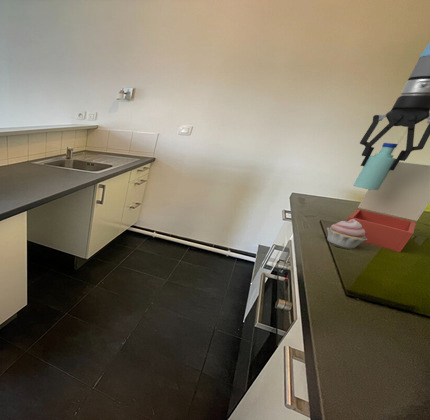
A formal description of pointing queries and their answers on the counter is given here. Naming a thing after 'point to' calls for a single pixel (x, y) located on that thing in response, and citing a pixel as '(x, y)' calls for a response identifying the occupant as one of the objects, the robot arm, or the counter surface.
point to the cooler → (384, 229)
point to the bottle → (376, 168)
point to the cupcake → (346, 234)
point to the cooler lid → (401, 192)
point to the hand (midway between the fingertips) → (376, 167)
